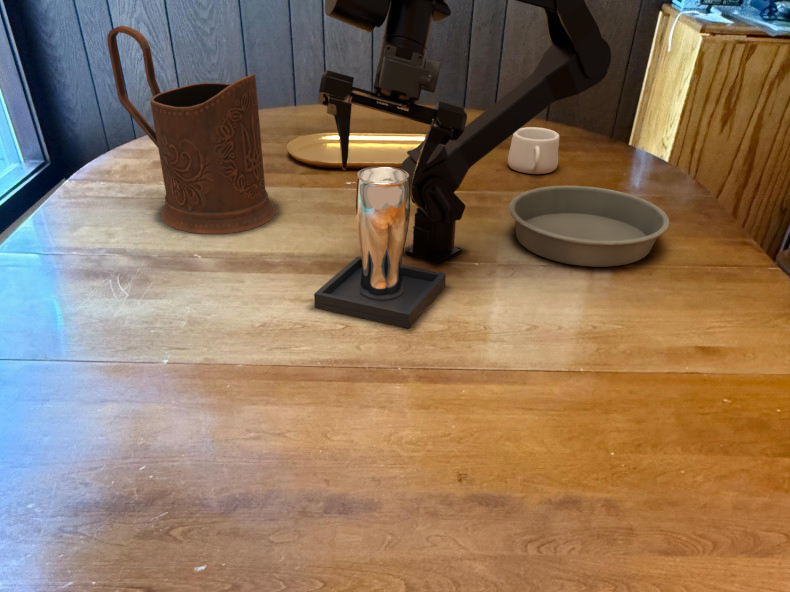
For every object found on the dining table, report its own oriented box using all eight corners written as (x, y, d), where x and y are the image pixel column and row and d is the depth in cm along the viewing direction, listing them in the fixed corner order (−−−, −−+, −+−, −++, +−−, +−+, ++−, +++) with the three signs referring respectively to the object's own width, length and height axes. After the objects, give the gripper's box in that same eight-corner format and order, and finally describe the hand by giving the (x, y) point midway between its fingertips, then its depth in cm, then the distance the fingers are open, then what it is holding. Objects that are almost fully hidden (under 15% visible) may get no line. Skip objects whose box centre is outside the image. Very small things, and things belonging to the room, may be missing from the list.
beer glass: (386, 306, 102) (387, 188, 92) (345, 291, 105) (343, 175, 95) (417, 288, 106) (422, 174, 96) (377, 274, 109) (378, 162, 99)
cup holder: (243, 241, 119) (222, 52, 102) (108, 218, 124) (67, 36, 108) (293, 201, 132) (282, 29, 115) (169, 182, 137) (141, 15, 121)
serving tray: (357, 269, 113) (357, 255, 111) (445, 287, 109) (446, 273, 108) (314, 307, 103) (313, 293, 102) (409, 328, 99) (409, 314, 98)
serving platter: (471, 172, 146) (472, 163, 145) (284, 170, 144) (284, 161, 143) (460, 142, 160) (460, 134, 159) (289, 140, 158) (289, 132, 157)
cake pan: (689, 268, 116) (697, 238, 113) (531, 276, 112) (535, 245, 109) (627, 209, 134) (633, 182, 131) (489, 214, 130) (492, 186, 127)
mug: (505, 158, 153) (509, 125, 149) (554, 160, 153) (559, 127, 149) (508, 178, 144) (512, 143, 140) (560, 180, 144) (566, 146, 140)
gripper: (333, -1, 88) (308, 146, 92) (489, 45, 91) (458, 185, 95) (330, 34, 99) (307, 164, 102) (470, 74, 102) (443, 198, 105)
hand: (378, 177), depth 101 cm, fingers open, 9 cm apart
